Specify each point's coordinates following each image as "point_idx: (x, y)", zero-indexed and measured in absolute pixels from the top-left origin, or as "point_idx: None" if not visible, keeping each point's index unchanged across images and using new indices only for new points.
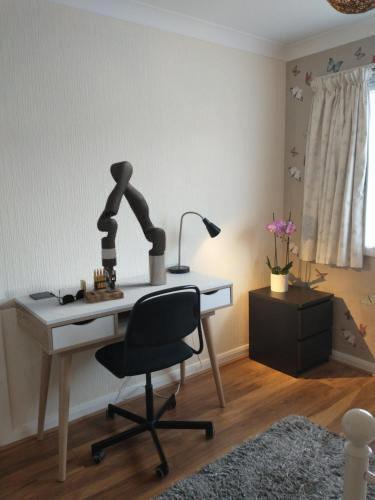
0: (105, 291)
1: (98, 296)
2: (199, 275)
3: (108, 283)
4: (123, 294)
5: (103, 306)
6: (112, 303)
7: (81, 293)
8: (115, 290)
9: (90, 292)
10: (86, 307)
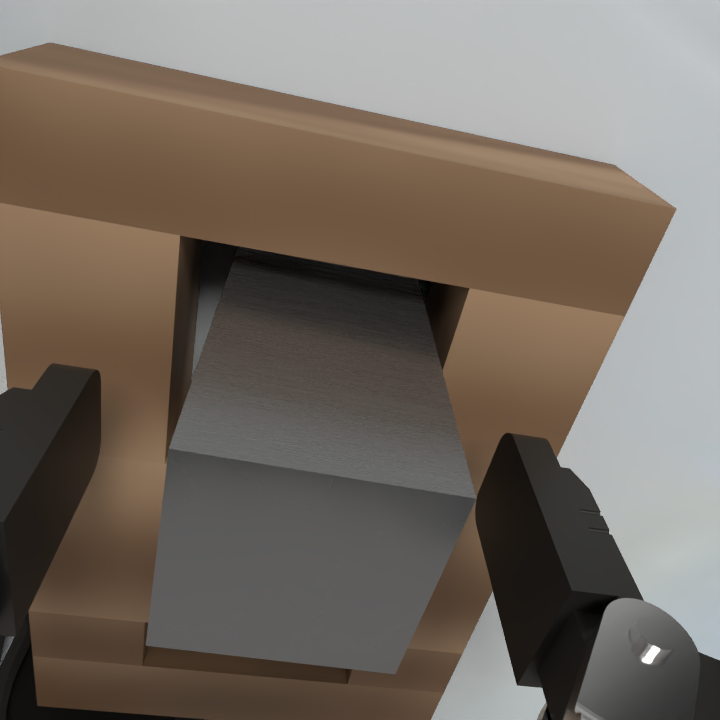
0: (171, 431)
1: (467, 640)
2: None
3: (403, 649)
4: (650, 196)
5: (691, 587)
6: (692, 463)
7: (65, 714)
8: (432, 338)
9: (130, 651)
10: (542, 704)
